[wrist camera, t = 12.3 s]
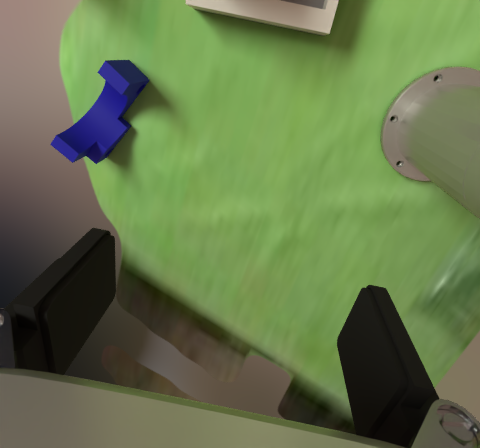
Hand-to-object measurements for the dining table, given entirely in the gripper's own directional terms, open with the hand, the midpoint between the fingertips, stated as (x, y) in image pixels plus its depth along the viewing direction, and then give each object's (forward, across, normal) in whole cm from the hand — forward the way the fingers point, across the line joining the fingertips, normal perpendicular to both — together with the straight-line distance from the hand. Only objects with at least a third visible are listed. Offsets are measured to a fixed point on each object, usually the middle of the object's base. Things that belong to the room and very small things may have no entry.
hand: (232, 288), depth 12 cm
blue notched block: (+31, +18, +2) cm, 36 cm away
